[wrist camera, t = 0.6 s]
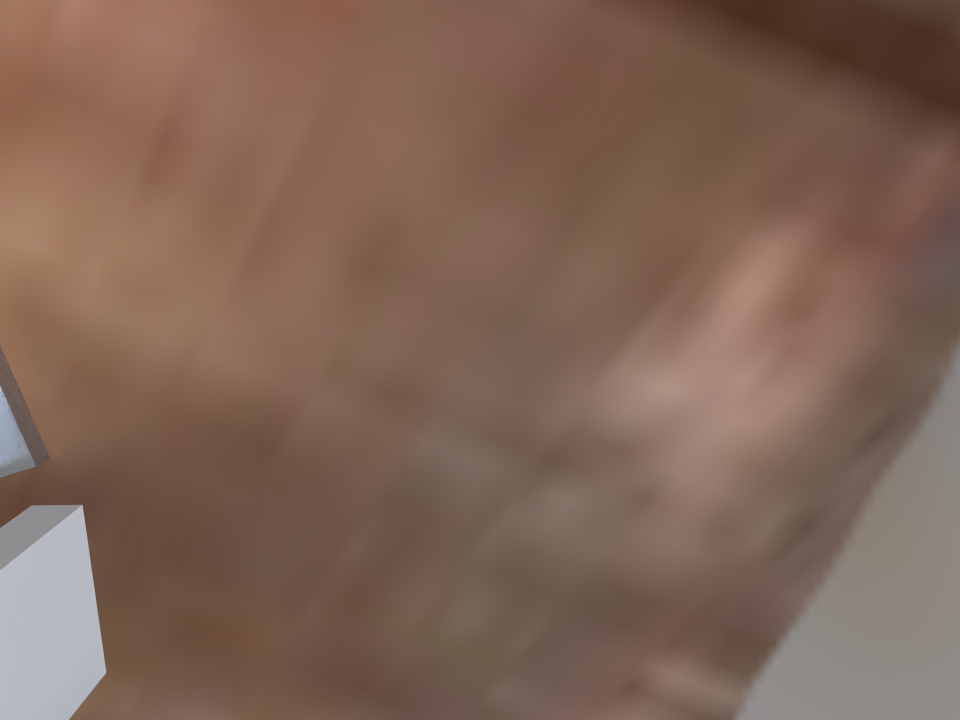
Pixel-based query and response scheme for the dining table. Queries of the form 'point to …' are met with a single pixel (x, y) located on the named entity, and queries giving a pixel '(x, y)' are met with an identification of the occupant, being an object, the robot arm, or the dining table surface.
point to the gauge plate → (16, 428)
